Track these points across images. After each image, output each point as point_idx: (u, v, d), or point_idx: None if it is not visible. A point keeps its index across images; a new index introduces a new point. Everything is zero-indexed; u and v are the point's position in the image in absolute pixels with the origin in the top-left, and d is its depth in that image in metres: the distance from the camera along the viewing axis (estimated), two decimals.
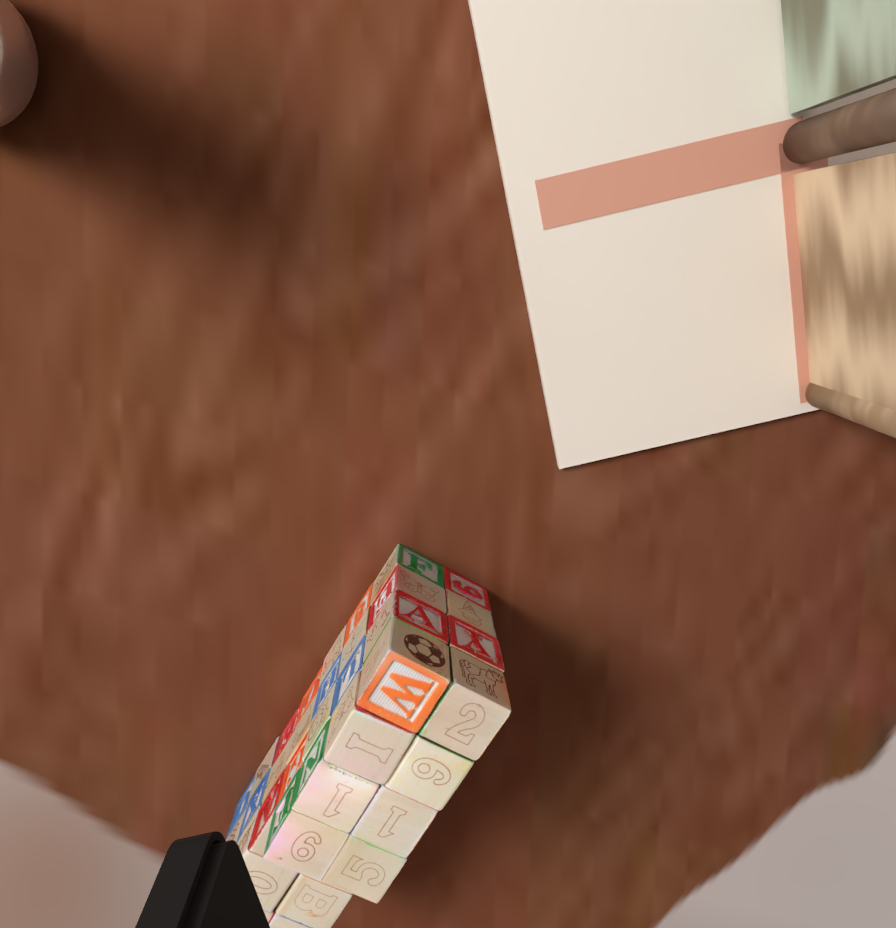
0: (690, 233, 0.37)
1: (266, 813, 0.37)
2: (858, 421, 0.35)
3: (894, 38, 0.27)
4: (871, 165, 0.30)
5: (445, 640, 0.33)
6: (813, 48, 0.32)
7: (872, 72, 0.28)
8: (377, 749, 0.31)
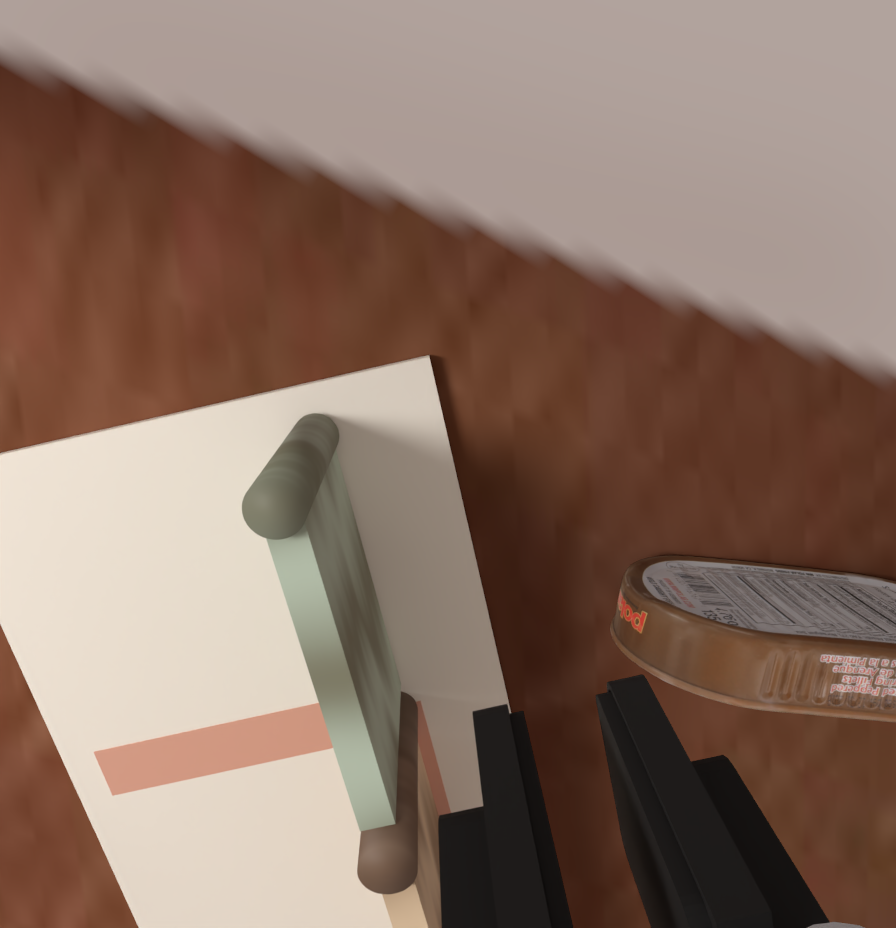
0: (282, 793, 0.33)
1: None
2: None
3: (352, 799, 0.23)
4: None
5: None
6: None
7: None
8: None
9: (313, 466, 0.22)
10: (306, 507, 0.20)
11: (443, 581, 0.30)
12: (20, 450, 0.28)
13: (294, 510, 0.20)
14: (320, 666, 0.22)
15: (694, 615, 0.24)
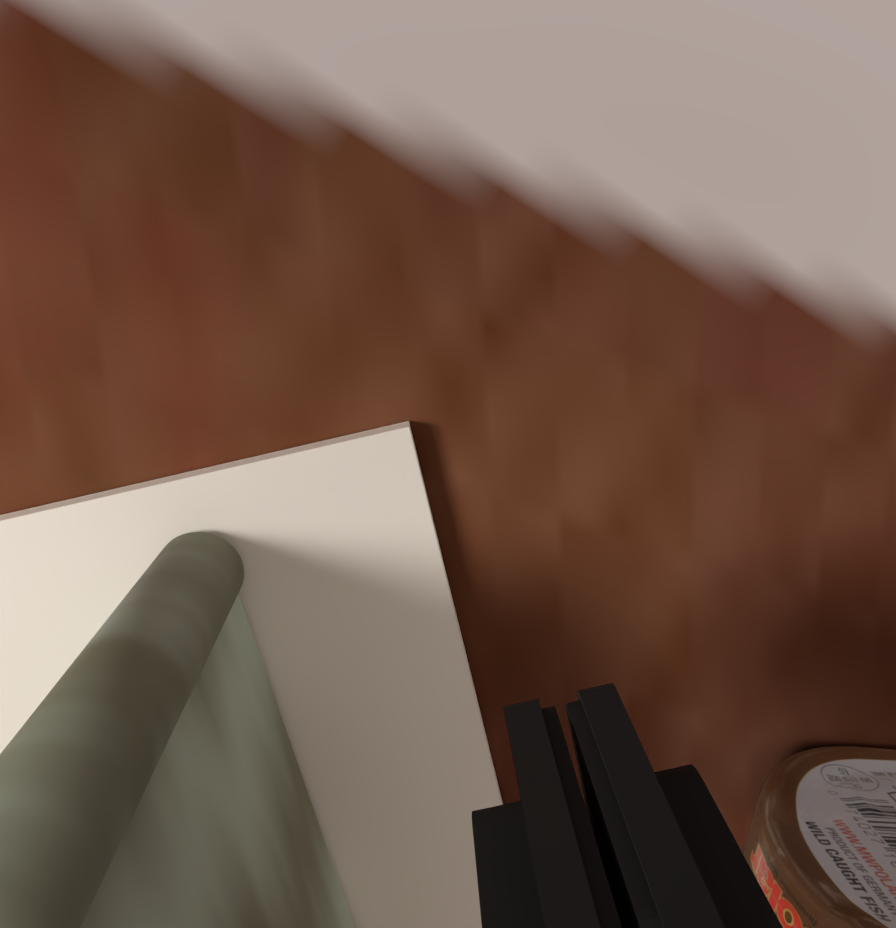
0: None
1: None
2: None
3: None
4: None
5: None
6: None
7: None
8: None
9: (133, 731, 0.09)
10: None
11: (436, 801, 0.17)
12: None
13: None
14: None
15: None
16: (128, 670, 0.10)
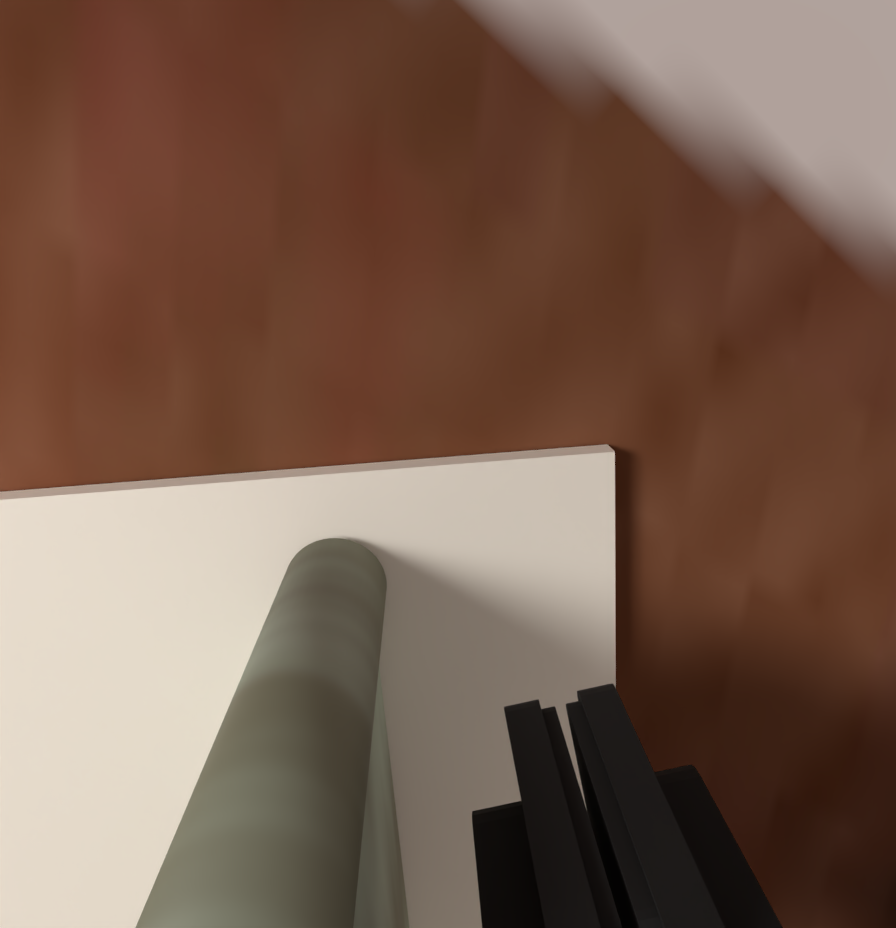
0: None
1: None
2: None
3: None
4: None
5: None
6: None
7: None
8: None
9: (349, 816, 0.07)
10: None
11: None
12: None
13: None
14: None
15: None
16: (327, 724, 0.08)
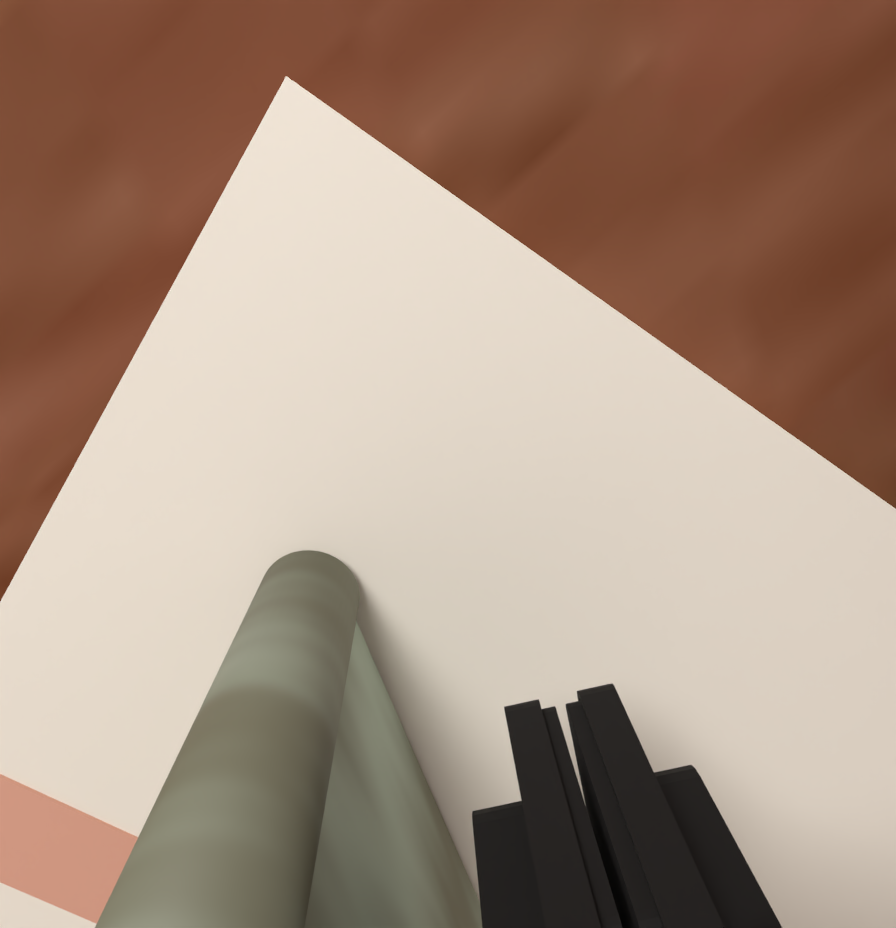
0: None
1: None
2: None
3: None
4: None
5: None
6: None
7: None
8: None
9: (290, 810, 0.07)
10: None
11: None
12: (483, 218, 0.11)
13: None
14: None
15: None
16: (267, 729, 0.08)
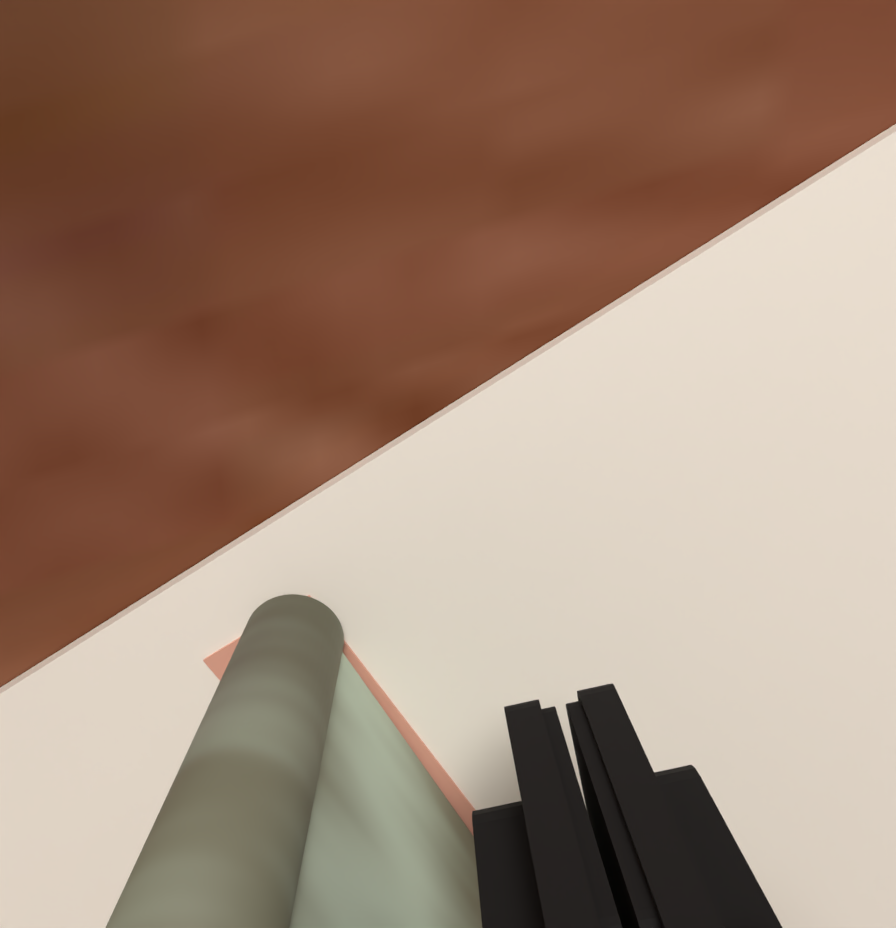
0: None
1: None
2: None
3: None
4: None
5: None
6: None
7: None
8: None
9: (250, 876, 0.07)
10: None
11: None
12: None
13: None
14: None
15: None
16: (228, 794, 0.08)
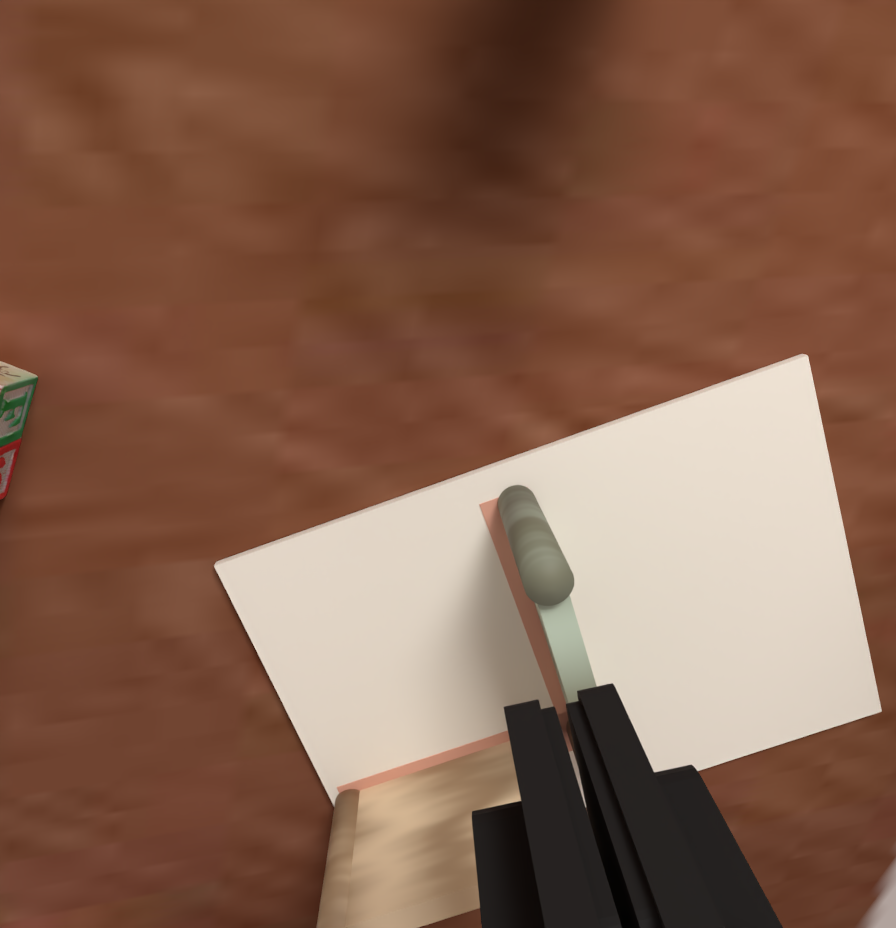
0: (492, 647, 0.35)
1: None
2: (328, 867, 0.33)
3: None
4: None
5: None
6: (566, 701, 0.33)
7: None
8: None
9: (555, 540, 0.27)
10: (573, 578, 0.25)
11: (704, 743, 0.38)
12: (822, 428, 0.33)
13: (564, 582, 0.25)
14: None
15: None
16: (541, 524, 0.28)
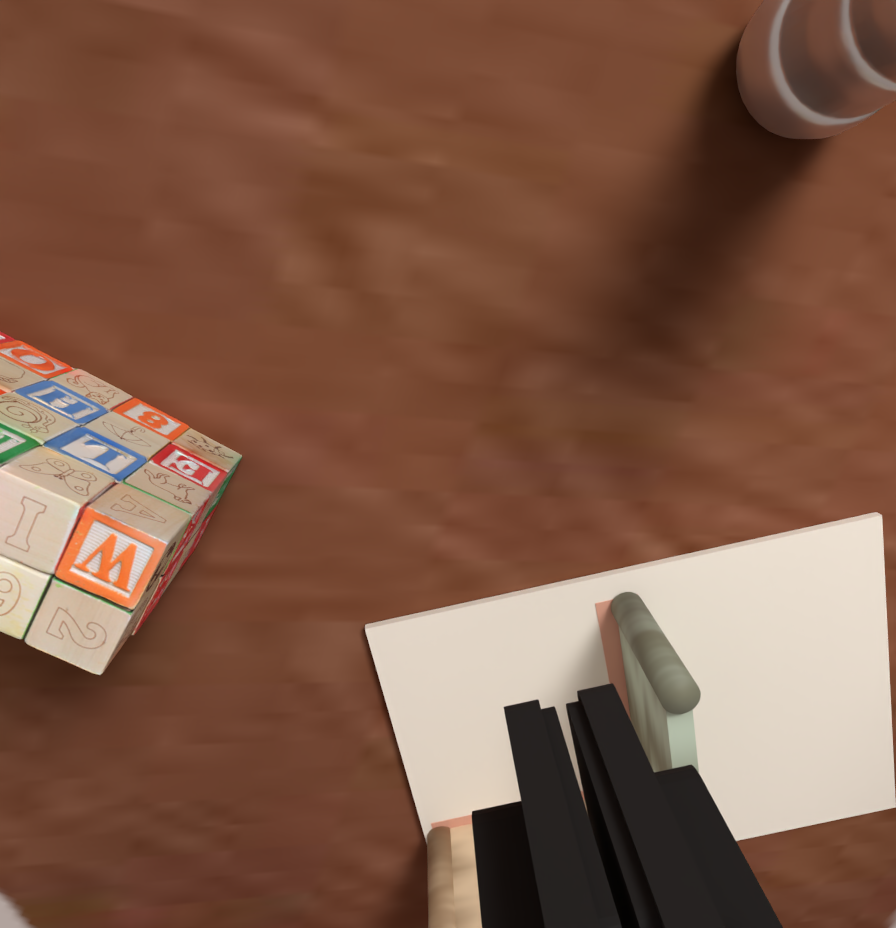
0: None
1: None
2: (433, 896, 0.39)
3: None
4: None
5: (165, 572, 0.29)
6: None
7: None
8: (25, 533, 0.25)
9: (678, 656, 0.34)
10: (699, 695, 0.31)
11: (746, 818, 0.44)
12: (884, 574, 0.40)
13: (692, 697, 0.31)
14: None
15: None
16: (664, 639, 0.34)
